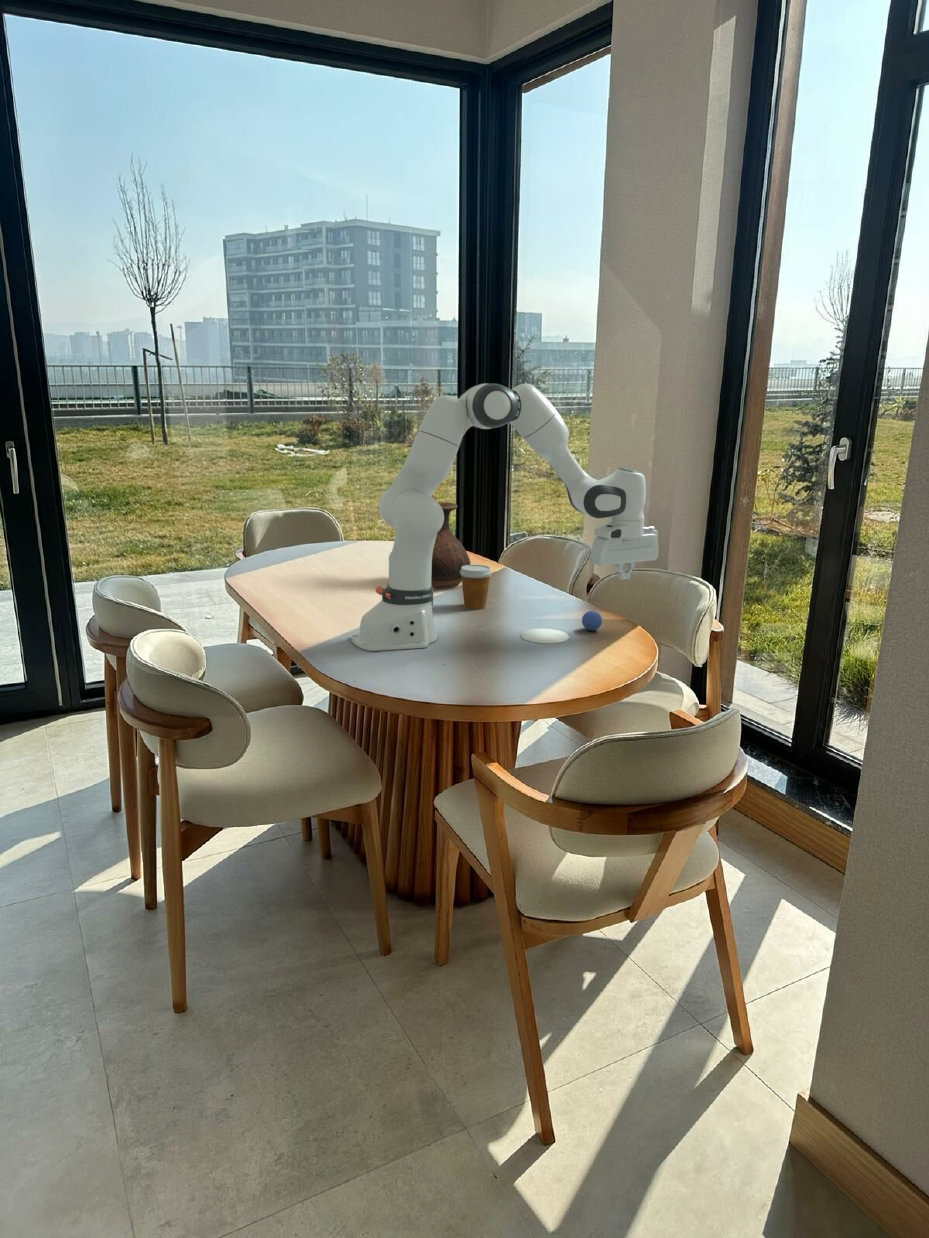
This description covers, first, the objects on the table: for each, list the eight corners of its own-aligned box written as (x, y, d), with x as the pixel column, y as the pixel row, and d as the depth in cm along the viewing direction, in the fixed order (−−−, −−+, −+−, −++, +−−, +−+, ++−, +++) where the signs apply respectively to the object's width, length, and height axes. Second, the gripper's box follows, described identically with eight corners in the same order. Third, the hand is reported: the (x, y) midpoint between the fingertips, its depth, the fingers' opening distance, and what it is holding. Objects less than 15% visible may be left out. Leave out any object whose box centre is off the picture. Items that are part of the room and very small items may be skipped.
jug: (473, 578, 296) (475, 490, 288) (467, 593, 276) (469, 499, 267) (410, 575, 298) (410, 488, 290) (399, 590, 278) (399, 497, 269)
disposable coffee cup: (463, 611, 255) (464, 571, 252) (455, 603, 264) (456, 564, 260) (494, 610, 257) (496, 570, 254) (485, 601, 266) (486, 563, 263)
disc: (535, 645, 224) (535, 645, 224) (511, 632, 236) (511, 631, 236) (578, 640, 230) (578, 639, 230) (552, 627, 241) (552, 626, 241)
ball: (588, 633, 236) (589, 614, 234) (577, 628, 240) (578, 609, 239) (605, 631, 238) (606, 612, 236) (594, 626, 243) (595, 607, 241)
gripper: (650, 524, 243) (647, 572, 247) (589, 529, 234) (587, 579, 238) (665, 527, 237) (661, 577, 241) (602, 533, 229) (600, 584, 233)
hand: (624, 578), depth 239 cm, fingers closed
